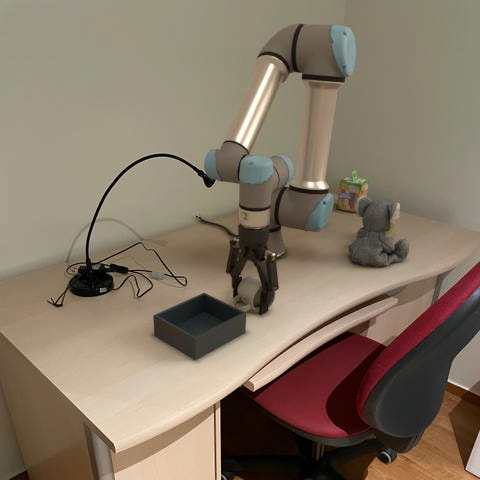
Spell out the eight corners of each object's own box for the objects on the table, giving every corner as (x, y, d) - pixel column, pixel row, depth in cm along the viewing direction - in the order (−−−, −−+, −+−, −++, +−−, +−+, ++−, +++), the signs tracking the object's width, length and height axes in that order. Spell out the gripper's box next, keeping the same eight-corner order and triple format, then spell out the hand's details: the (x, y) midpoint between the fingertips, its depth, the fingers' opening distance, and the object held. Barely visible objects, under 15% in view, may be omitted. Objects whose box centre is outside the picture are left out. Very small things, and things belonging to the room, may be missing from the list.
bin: (154, 335, 123) (153, 315, 120) (204, 311, 133) (204, 292, 131) (195, 360, 115) (195, 339, 112) (245, 332, 125) (246, 312, 122)
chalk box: (357, 213, 203) (363, 175, 196) (336, 209, 207) (340, 172, 200) (365, 207, 210) (371, 170, 203) (344, 203, 214) (349, 167, 207)
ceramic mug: (256, 295, 142) (257, 269, 138) (275, 307, 136) (276, 281, 132) (224, 306, 136) (224, 280, 132) (243, 319, 131) (243, 292, 127)
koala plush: (411, 259, 166) (423, 199, 156) (379, 275, 155) (390, 212, 145) (365, 243, 177) (375, 186, 167) (333, 257, 166) (341, 197, 156)
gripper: (211, 216, 128) (211, 296, 140) (278, 240, 116) (272, 326, 127) (232, 209, 133) (230, 288, 145) (298, 232, 121) (291, 315, 132)
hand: (250, 305), depth 136 cm, fingers closed on ceramic mug, 9 cm apart
